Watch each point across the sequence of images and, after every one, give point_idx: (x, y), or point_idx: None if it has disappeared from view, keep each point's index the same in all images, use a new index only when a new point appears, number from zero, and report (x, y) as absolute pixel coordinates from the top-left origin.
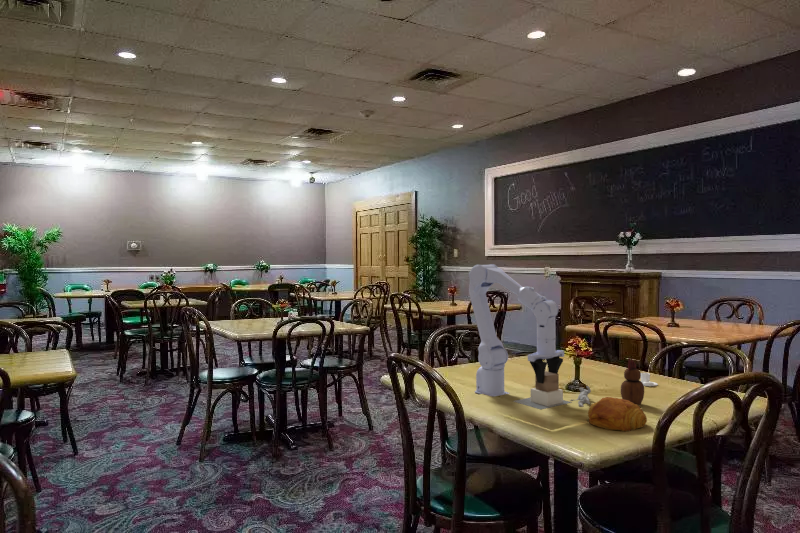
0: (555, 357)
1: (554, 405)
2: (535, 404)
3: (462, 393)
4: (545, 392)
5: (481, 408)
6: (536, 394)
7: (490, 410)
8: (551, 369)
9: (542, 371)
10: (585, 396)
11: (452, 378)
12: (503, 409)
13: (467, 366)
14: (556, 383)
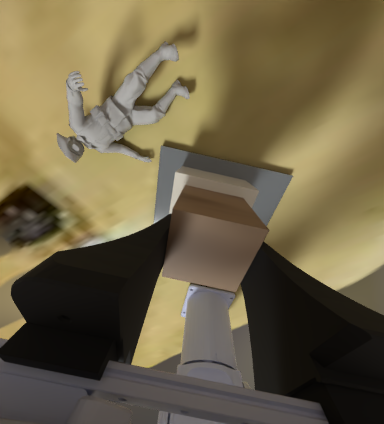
0: (87, 355)
1: (227, 168)
2: None
3: (234, 328)
4: (254, 200)
5: (322, 278)
6: None
7: (331, 261)
8: (158, 264)
9: (299, 270)
10: (138, 80)
11: (166, 357)
12: (310, 247)
13: None
14: (194, 195)
